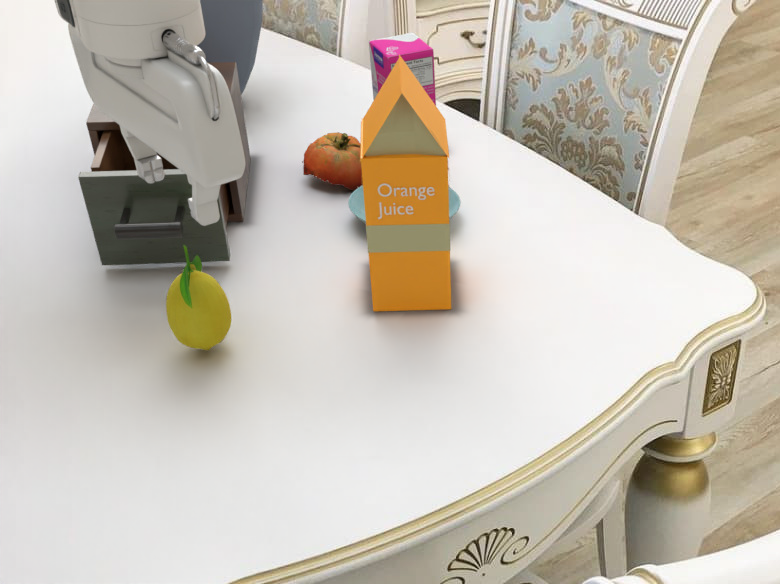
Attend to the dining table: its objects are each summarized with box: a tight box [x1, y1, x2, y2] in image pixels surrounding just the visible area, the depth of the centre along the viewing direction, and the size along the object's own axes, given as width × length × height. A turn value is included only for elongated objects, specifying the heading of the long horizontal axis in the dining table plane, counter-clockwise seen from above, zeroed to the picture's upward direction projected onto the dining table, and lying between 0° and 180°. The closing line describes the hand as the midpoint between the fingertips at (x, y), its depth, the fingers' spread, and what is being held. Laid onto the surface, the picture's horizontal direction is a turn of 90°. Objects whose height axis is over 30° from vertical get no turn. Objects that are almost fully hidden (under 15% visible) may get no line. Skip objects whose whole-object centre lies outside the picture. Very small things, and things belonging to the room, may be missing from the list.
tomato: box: [301, 132, 363, 191], centre depth 124 cm, size 8×7×7 cm
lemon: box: [165, 245, 232, 351], centre depth 97 cm, size 7×6×10 cm
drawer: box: [78, 130, 231, 266], centre depth 109 cm, size 19×12×9 cm, turn 6°
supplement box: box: [368, 32, 437, 106], centre depth 127 cm, size 6×6×12 cm
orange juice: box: [360, 55, 452, 312], centre depth 102 cm, size 8×9×20 cm
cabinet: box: [85, 62, 252, 223], centre depth 119 cm, size 16×14×11 cm
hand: (178, 199), depth 90 cm, fingers open, 8 cm apart
